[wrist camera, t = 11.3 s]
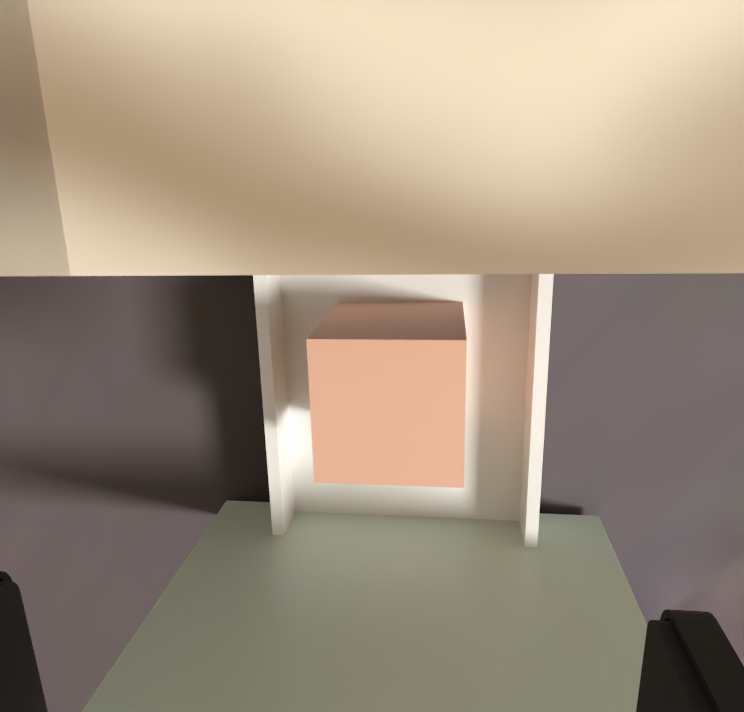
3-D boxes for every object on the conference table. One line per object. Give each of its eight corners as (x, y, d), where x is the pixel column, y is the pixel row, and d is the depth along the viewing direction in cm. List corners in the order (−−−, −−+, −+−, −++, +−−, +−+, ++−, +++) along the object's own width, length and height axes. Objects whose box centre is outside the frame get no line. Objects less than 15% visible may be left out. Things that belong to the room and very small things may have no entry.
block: (338, 302, 25) (305, 338, 19) (462, 301, 25) (466, 340, 19) (343, 416, 27) (313, 482, 21) (460, 419, 26) (464, 487, 20)
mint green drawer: (191, 138, 25) (-49, 103, 13) (633, 124, 23) (838, 66, 11) (228, 522, 30) (79, 757, 18) (596, 539, 28) (709, 817, 16)
